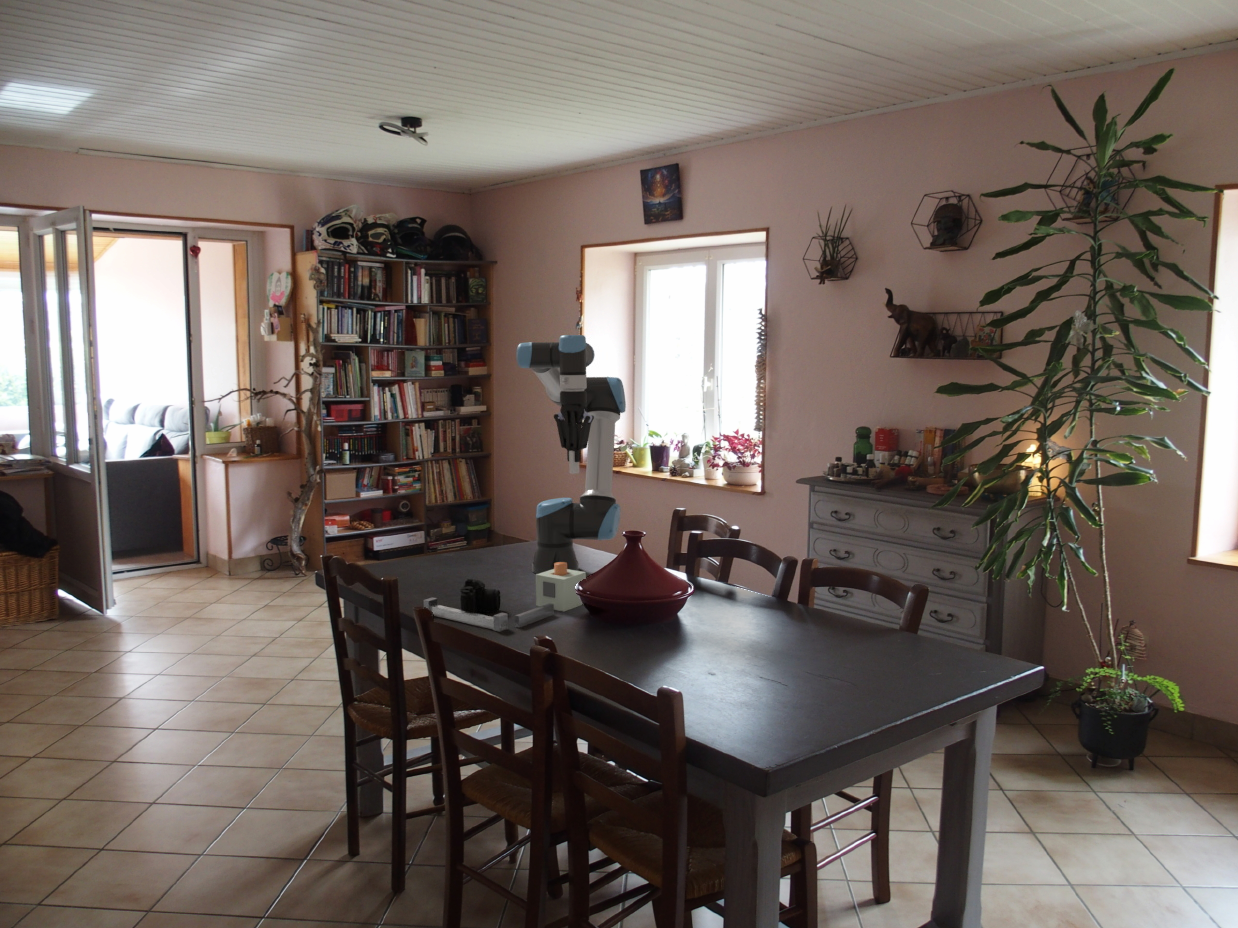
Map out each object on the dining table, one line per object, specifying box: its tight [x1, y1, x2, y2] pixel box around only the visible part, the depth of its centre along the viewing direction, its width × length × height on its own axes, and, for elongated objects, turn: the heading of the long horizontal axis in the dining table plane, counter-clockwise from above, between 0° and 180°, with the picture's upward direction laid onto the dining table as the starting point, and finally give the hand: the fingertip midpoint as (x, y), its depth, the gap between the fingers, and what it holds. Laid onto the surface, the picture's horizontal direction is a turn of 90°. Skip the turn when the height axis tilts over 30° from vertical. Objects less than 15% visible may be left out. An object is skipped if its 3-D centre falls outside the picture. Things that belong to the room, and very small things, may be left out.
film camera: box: [459, 578, 501, 614], centre depth 259 cm, size 15×10×9 cm, turn 176°
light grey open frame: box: [423, 597, 555, 633], centre depth 257 cm, size 20×30×4 cm, turn 54°
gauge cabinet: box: [535, 569, 587, 612], centre depth 266 cm, size 10×10×9 cm
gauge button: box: [554, 562, 567, 576], centre depth 266 cm, size 4×4×6 cm
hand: (574, 473), depth 269 cm, fingers closed
